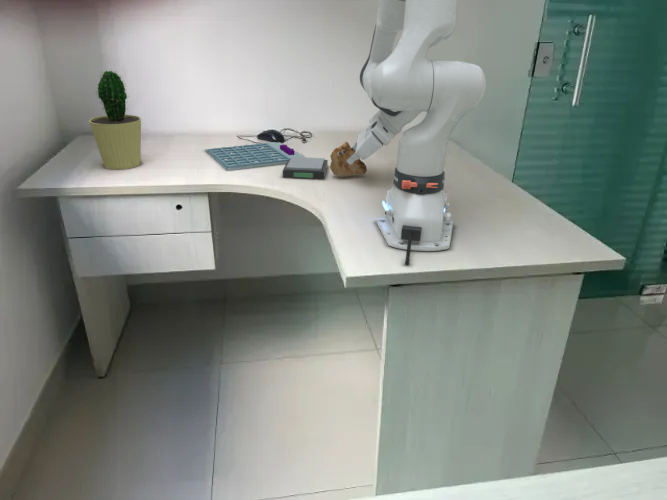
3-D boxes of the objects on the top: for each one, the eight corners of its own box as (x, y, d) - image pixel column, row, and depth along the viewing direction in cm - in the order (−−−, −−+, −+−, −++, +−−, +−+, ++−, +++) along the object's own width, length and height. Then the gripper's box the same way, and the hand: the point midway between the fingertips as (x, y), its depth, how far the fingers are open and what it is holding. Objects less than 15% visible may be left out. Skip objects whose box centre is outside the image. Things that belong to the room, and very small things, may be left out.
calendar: (205, 150, 191) (204, 144, 190) (278, 143, 203) (278, 136, 202) (227, 171, 169) (226, 163, 168) (307, 161, 181) (307, 154, 180)
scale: (324, 179, 163) (324, 169, 161) (282, 178, 163) (282, 168, 162) (327, 166, 176) (327, 157, 174) (289, 165, 176) (289, 155, 175)
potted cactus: (94, 161, 175) (78, 66, 163) (142, 156, 182) (130, 65, 169) (99, 173, 163) (81, 72, 150) (150, 168, 170) (137, 71, 157)
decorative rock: (336, 179, 160) (333, 143, 157) (327, 177, 165) (324, 142, 163) (369, 174, 165) (367, 139, 162) (360, 172, 170) (358, 139, 168)
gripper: (375, 112, 167) (344, 141, 172) (375, 127, 149) (340, 159, 154) (388, 127, 169) (357, 155, 174) (389, 143, 150) (354, 175, 155)
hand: (349, 157), depth 163 cm, fingers open, 8 cm apart
